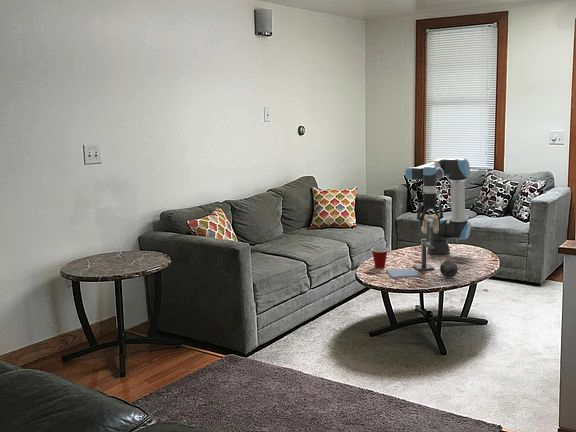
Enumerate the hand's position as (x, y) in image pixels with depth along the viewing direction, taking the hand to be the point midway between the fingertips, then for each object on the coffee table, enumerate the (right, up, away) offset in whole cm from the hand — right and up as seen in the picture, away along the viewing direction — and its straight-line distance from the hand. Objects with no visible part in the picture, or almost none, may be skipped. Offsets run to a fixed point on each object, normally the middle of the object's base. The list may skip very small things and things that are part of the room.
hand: (430, 230), depth 371 cm
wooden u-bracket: (0, -1, 0) cm, 1 cm away
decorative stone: (+10, -27, -5) cm, 29 cm away
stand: (0, -25, +10) cm, 27 cm away
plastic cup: (-26, -24, +24) cm, 42 cm away
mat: (-15, -26, +6) cm, 31 cm away
